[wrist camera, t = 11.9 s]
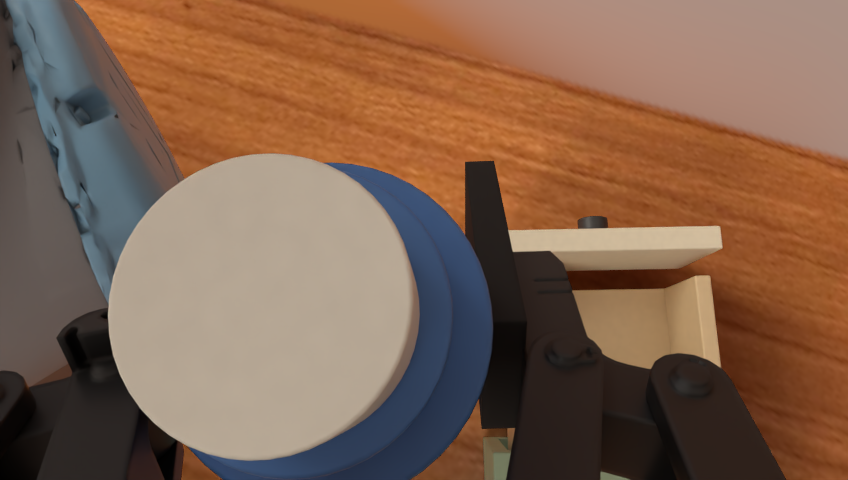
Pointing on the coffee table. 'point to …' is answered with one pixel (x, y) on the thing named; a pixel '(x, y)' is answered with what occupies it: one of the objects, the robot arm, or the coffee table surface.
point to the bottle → (302, 321)
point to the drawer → (637, 308)
